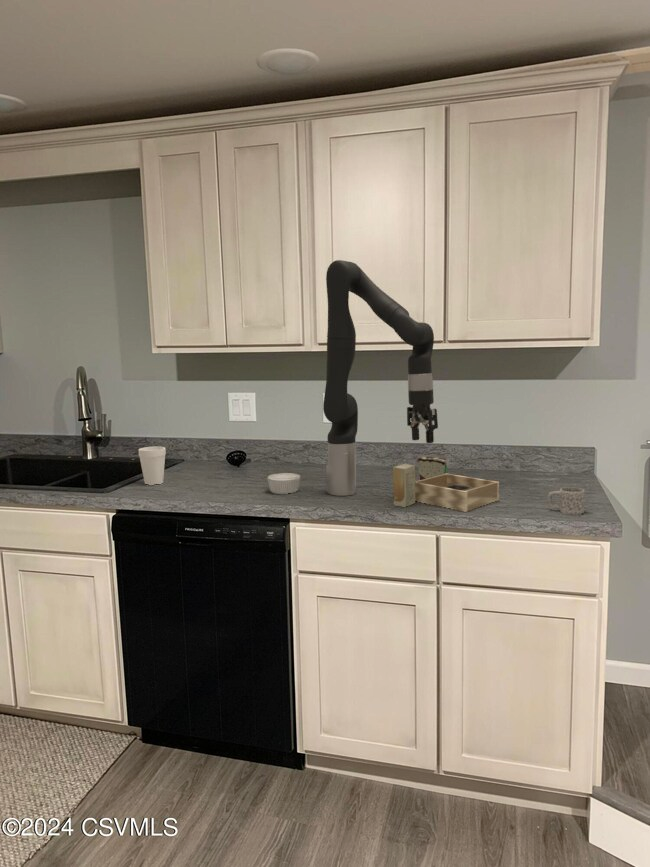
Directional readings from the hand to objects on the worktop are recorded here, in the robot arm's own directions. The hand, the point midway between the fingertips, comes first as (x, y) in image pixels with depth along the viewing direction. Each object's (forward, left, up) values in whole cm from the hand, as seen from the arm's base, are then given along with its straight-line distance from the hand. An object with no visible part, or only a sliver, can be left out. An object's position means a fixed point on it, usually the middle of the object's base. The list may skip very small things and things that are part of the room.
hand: (422, 441), depth 206 cm
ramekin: (-45, -18, -20) cm, 53 cm away
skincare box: (-3, -5, -20) cm, 21 cm away
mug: (+37, +20, -20) cm, 46 cm away
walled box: (+6, +9, -19) cm, 22 cm away
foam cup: (-90, -42, -20) cm, 101 cm away
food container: (-12, +23, -20) cm, 33 cm away
